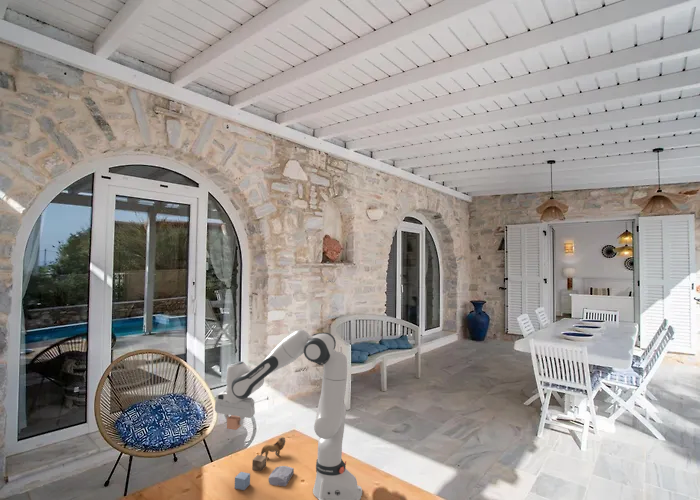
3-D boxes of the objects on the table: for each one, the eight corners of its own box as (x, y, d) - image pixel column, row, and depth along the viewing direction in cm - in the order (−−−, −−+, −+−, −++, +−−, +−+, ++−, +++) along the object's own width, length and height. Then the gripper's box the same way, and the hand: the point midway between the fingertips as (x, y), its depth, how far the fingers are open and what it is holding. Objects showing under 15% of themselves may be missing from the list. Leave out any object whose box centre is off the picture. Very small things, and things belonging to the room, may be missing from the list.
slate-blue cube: (249, 484, 183) (250, 473, 183) (244, 490, 178) (244, 479, 178) (240, 482, 184) (240, 471, 184) (234, 488, 179) (234, 477, 180)
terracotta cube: (241, 425, 193) (241, 415, 193) (236, 430, 189) (236, 419, 189) (232, 424, 195) (232, 414, 195) (226, 428, 190) (227, 418, 190)
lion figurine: (282, 450, 214) (283, 434, 214) (286, 455, 210) (287, 438, 210) (256, 458, 206) (257, 440, 206) (260, 462, 201) (261, 445, 201)
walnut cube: (266, 466, 198) (266, 456, 198) (261, 471, 194) (261, 461, 194) (257, 464, 200) (257, 454, 200) (252, 469, 195) (252, 459, 195)
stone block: (267, 488, 183) (287, 487, 181) (265, 478, 184) (285, 476, 182) (276, 475, 195) (295, 474, 193) (275, 465, 195) (294, 464, 193)
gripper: (257, 395, 192) (256, 424, 192) (221, 390, 197) (220, 418, 197) (251, 400, 186) (250, 429, 186) (213, 394, 191) (212, 423, 191)
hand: (234, 423), depth 192 cm, fingers closed on terracotta cube, 5 cm apart
